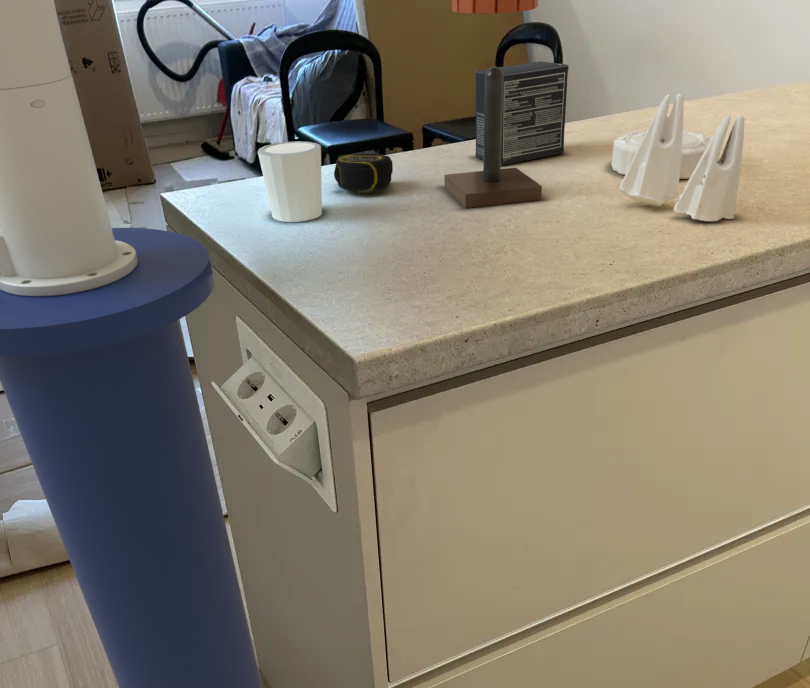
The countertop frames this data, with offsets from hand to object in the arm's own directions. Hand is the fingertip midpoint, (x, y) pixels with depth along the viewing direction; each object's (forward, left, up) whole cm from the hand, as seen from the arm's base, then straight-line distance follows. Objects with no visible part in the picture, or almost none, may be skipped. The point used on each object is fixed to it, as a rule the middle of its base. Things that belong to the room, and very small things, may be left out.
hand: (484, 4), depth 85 cm
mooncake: (+23, 0, -19) cm, 30 cm away
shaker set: (+16, -17, -19) cm, 30 cm away
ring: (0, -4, 0) cm, 4 cm away
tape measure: (-14, +5, -19) cm, 24 cm away
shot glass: (-23, -3, -19) cm, 29 cm away
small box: (+9, +13, -19) cm, 24 cm away
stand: (0, -3, -18) cm, 19 cm away
